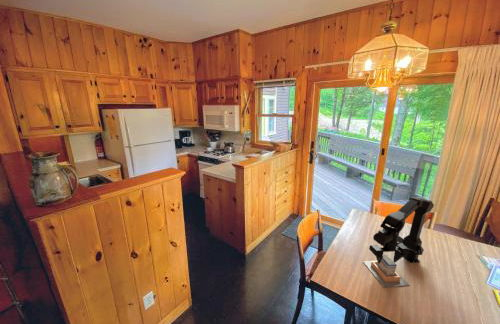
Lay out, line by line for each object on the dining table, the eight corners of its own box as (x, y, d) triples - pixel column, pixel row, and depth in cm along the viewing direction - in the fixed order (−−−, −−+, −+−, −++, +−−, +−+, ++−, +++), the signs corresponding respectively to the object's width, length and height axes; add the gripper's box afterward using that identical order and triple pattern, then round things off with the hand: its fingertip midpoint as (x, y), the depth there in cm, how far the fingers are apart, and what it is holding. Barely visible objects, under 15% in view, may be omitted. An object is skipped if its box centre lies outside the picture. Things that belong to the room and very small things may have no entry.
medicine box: (376, 267, 117) (378, 254, 115) (384, 266, 118) (386, 254, 115) (386, 278, 110) (389, 265, 107) (394, 277, 110) (397, 264, 108)
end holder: (385, 260, 123) (386, 256, 122) (409, 285, 106) (410, 281, 105) (362, 261, 122) (363, 257, 121) (383, 287, 105) (384, 283, 104)
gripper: (396, 228, 116) (391, 251, 120) (364, 230, 115) (361, 253, 119) (412, 240, 105) (407, 265, 109) (378, 242, 104) (373, 267, 108)
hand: (386, 262), depth 112 cm, fingers open, 9 cm apart
